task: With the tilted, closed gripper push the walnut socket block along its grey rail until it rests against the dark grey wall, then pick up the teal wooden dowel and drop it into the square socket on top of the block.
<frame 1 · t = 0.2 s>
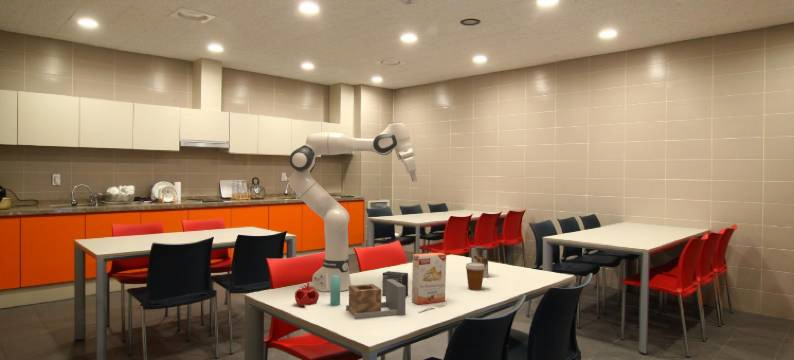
hand: (414, 181, 235), 52 cm above the table, tool tilted 20°, fingers open, 8 cm apart
pomegranate: (306, 305, 205), on the table
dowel: (335, 307, 202), on the table
backstop: (367, 315, 190), on the table
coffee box: (479, 276, 267), on the table
fork: (425, 312, 198), on the table
small box: (395, 296, 222), on the table
cracker box: (428, 302, 212), on the table
socket block: (364, 300, 189), point 6 cm above the table, slide at 6.0 cm
disposable coffee cup: (474, 289, 237), on the table
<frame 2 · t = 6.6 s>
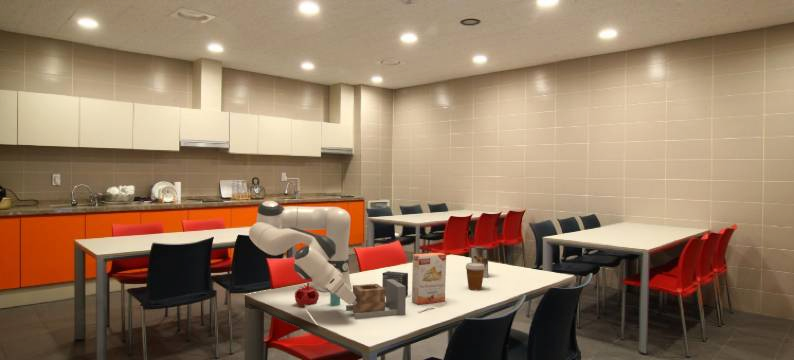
hand: (355, 303, 188), 5 cm above the table, tool tilted 45°, fingers closed, pressing on socket block
socket block: (368, 299, 190), point 6 cm above the table, slide at 4.4 cm, touching gripper
everything else where it was.
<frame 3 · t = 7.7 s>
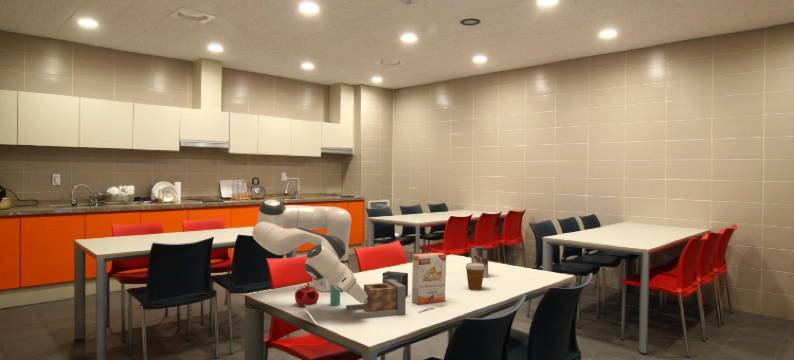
hand: (366, 302, 189), 5 cm above the table, tool tilted 45°, fingers closed, pressing on socket block
socket block: (379, 299, 192), point 6 cm above the table, slide at -0.1 cm, touching gripper
everything else where it was.
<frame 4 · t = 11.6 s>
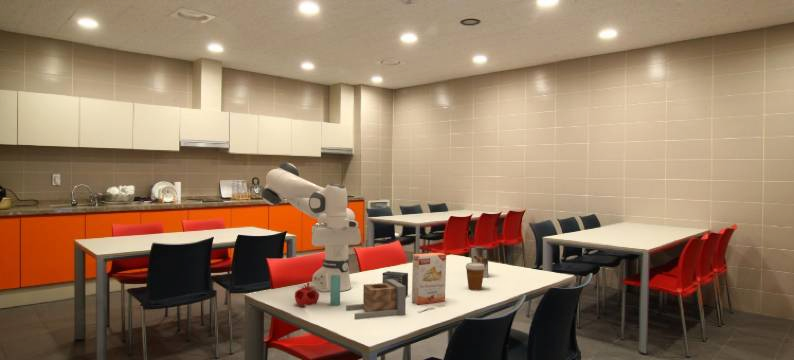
hand: (336, 256, 201), 21 cm above the table, tool pointing down, fingers closed
socket block: (379, 299, 192), point 6 cm above the table, slide at 0.0 cm
everything else where it was.
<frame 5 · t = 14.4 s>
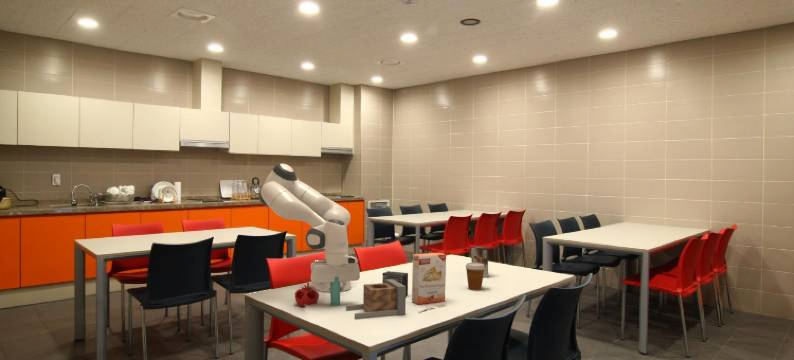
hand: (335, 292, 202), 6 cm above the table, tool pointing down, fingers closed on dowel, 4 cm apart
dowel: (335, 307, 202), on the table, touching gripper
everything else where it was.
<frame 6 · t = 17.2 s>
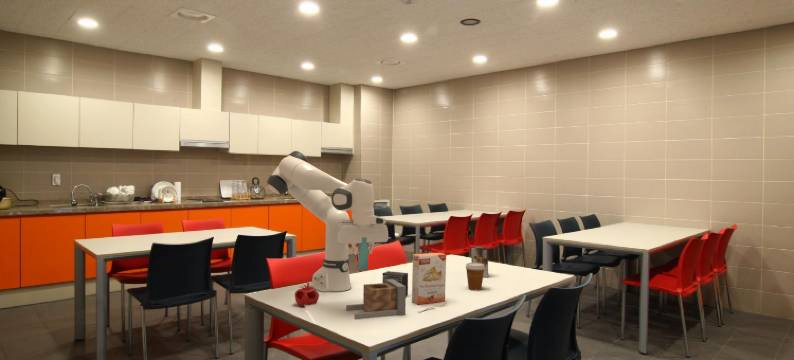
hand: (363, 254, 194), 23 cm above the table, tool pointing down, fingers closed on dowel, 4 cm apart
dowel: (363, 269, 194), point 17 cm above the table, touching gripper
everything else where it was.
when the fingers open (13 cm above the table, at t = 19.9 s): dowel stays where it is, resting on socket block.
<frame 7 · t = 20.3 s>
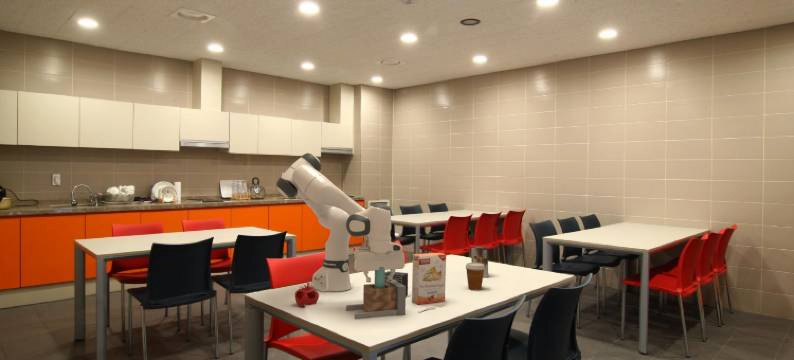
hand: (379, 281, 192), 13 cm above the table, tool pointing down, fingers open, 8 cm apart
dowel: (379, 299, 192), point 6 cm above the table, touching socket block
socket block: (379, 299, 192), point 6 cm above the table, slide at 0.0 cm, touching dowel
everything else where it was.
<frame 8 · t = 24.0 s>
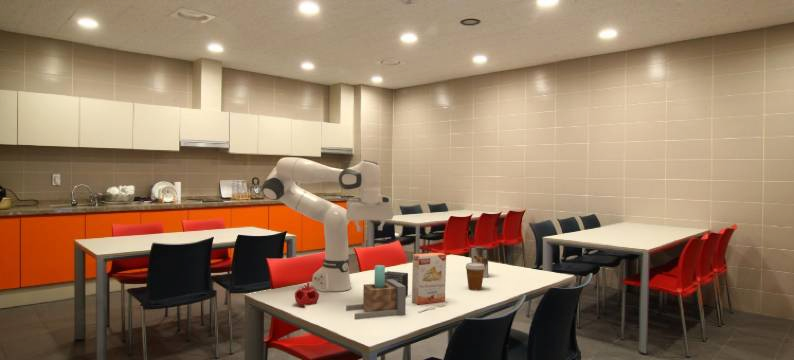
hand: (369, 230, 208), 31 cm above the table, tool pointing down, fingers open, 8 cm apart
nothing on the table moved.
at the end: socket block slide at 0.0 cm; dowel 0.1 cm off-centre on the socket block, point 5.0 cm above the socket block's base; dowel tilted 1° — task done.
